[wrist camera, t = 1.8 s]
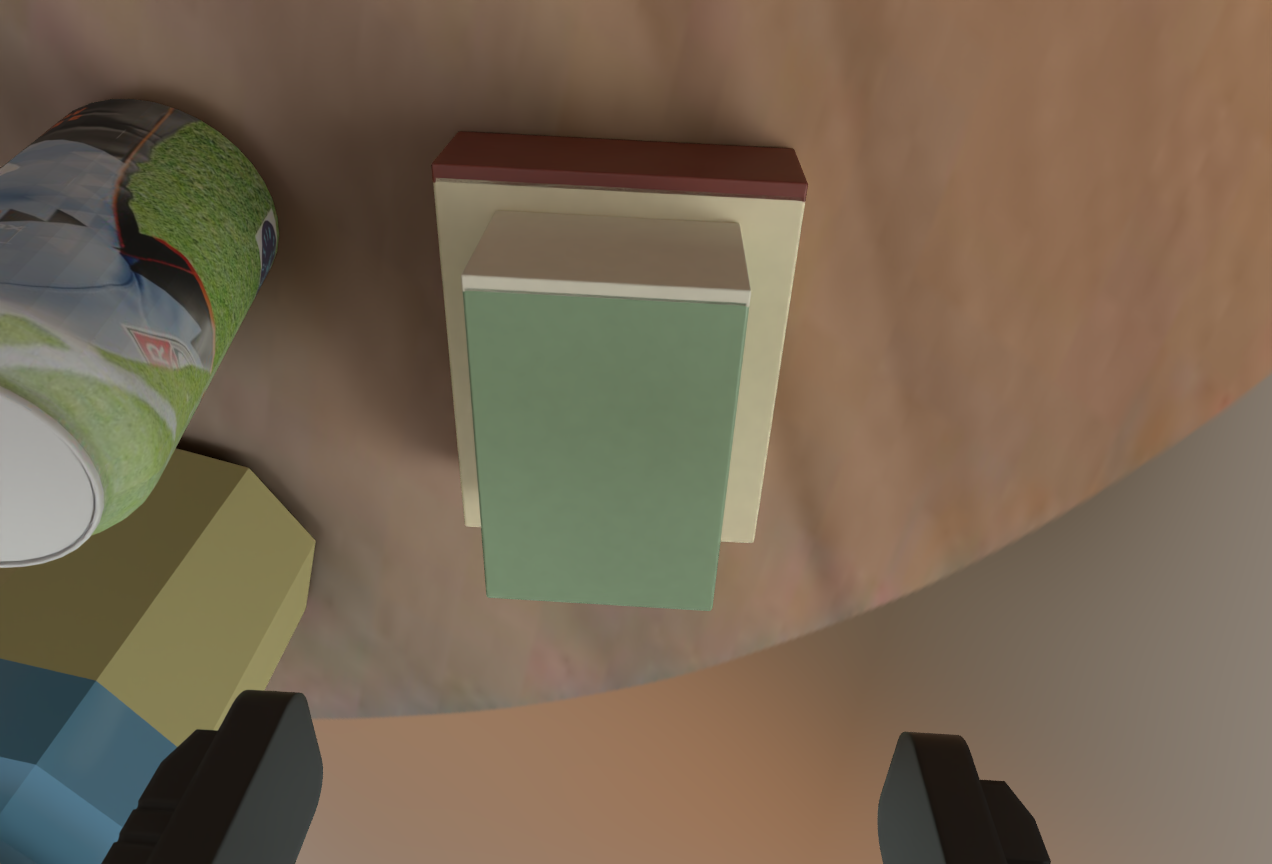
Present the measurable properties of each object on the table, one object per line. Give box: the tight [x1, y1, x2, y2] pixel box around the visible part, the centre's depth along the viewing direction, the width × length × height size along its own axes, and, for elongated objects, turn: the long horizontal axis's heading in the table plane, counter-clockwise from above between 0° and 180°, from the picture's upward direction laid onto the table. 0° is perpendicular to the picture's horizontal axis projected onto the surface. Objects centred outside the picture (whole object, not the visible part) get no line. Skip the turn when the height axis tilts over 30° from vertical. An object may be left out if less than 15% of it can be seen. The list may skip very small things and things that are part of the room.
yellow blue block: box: [0, 448, 316, 864], centre depth 25 cm, size 9×9×15 cm
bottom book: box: [431, 132, 808, 543], centre depth 25 cm, size 11×9×3 cm
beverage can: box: [0, 99, 279, 568], centre depth 20 cm, size 6×7×12 cm
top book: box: [461, 210, 751, 611], centre depth 22 cm, size 9×6×4 cm, turn 178°
